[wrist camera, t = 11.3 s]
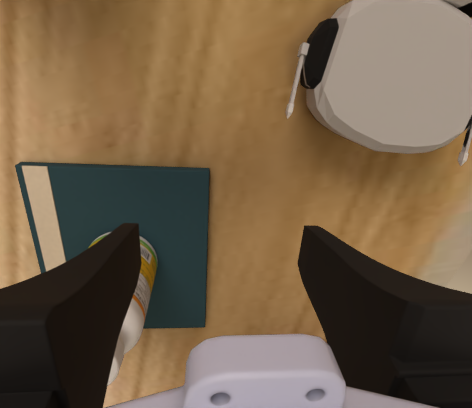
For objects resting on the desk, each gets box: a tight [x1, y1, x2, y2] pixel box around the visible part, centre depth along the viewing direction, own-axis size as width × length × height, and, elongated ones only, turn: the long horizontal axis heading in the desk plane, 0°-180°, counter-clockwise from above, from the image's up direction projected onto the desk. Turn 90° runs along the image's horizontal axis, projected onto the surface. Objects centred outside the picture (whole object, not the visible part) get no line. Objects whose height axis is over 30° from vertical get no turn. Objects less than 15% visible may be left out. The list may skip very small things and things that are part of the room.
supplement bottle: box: [88, 232, 157, 386], centre depth 20 cm, size 5×5×10 cm
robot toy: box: [286, 0, 472, 166], centre depth 18 cm, size 12×4×15 cm
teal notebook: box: [15, 162, 210, 329], centre depth 25 cm, size 15×13×1 cm
